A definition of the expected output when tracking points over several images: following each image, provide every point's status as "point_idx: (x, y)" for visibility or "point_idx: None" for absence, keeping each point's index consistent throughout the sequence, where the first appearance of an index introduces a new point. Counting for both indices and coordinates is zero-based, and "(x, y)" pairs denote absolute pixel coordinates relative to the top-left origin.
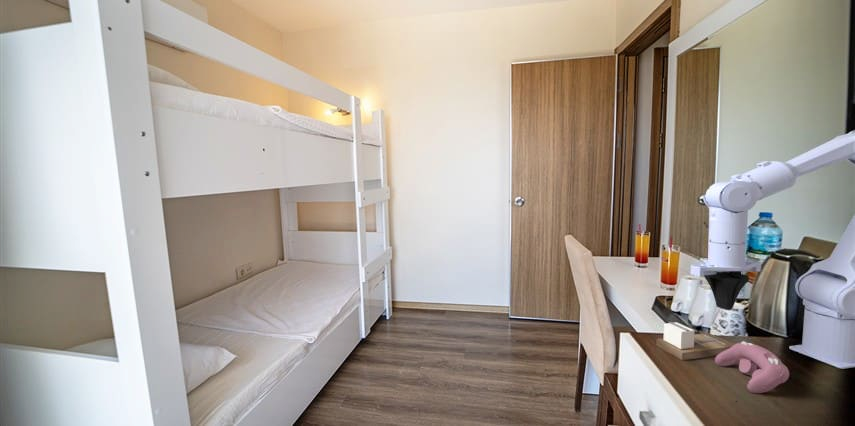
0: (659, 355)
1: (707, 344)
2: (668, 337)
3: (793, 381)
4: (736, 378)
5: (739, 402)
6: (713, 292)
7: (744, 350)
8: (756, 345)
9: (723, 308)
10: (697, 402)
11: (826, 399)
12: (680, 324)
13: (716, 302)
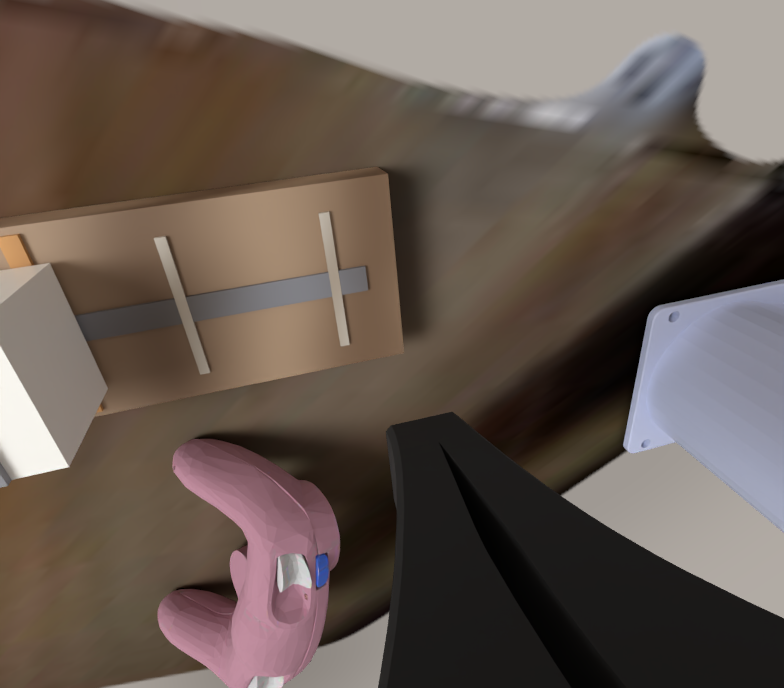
0: None
1: (240, 337)
2: None
3: (389, 519)
4: (191, 525)
5: (81, 643)
6: (399, 553)
7: (245, 592)
8: (290, 633)
9: (393, 487)
10: None
11: (381, 587)
12: (2, 364)
13: (394, 459)
